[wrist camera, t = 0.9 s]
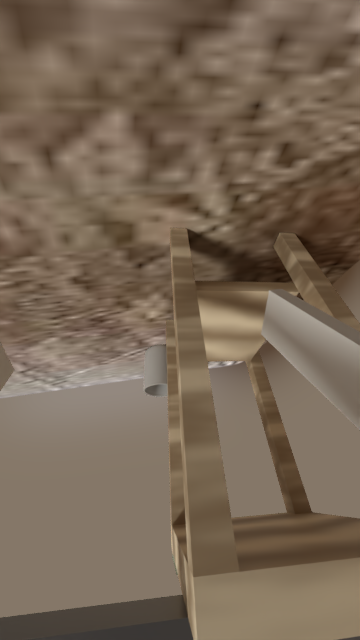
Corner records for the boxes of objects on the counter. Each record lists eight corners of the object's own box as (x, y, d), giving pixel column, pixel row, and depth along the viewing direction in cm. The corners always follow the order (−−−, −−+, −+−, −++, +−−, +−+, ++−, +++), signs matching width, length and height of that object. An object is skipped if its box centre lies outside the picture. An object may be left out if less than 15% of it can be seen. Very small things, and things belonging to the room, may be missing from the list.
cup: (138, 353, 50) (136, 392, 44) (166, 334, 44) (167, 375, 39) (163, 362, 54) (163, 398, 48) (191, 345, 48) (195, 384, 43)
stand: (170, 227, 26) (199, 676, 8) (294, 233, 28) (570, 615, 9) (165, 326, 42) (171, 552, 23) (245, 326, 44) (311, 537, 25)
